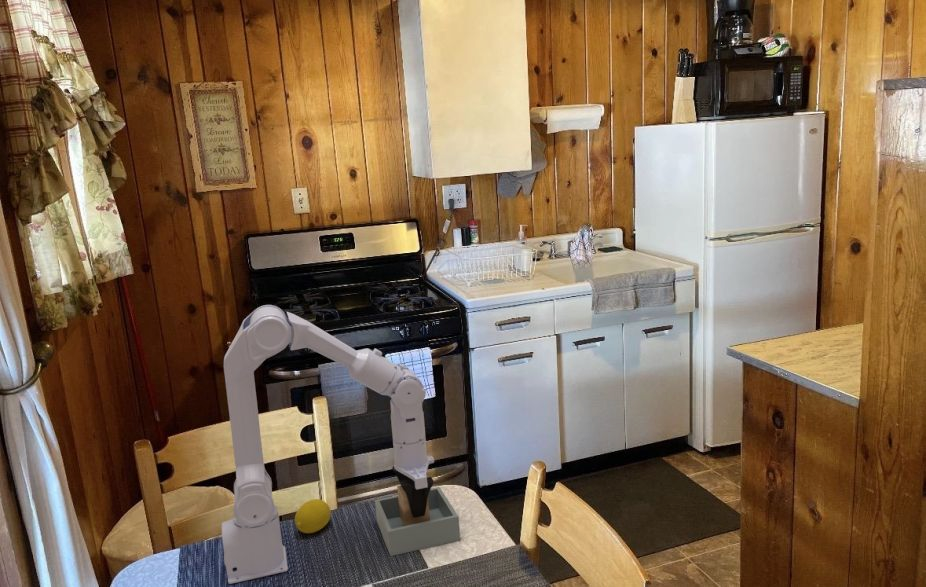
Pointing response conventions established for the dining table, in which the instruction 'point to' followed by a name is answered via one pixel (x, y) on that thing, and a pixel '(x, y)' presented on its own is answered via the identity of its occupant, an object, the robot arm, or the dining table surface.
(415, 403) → the robot arm
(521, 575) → the dining table surface
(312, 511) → the lemon
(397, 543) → the tote
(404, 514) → the carton
